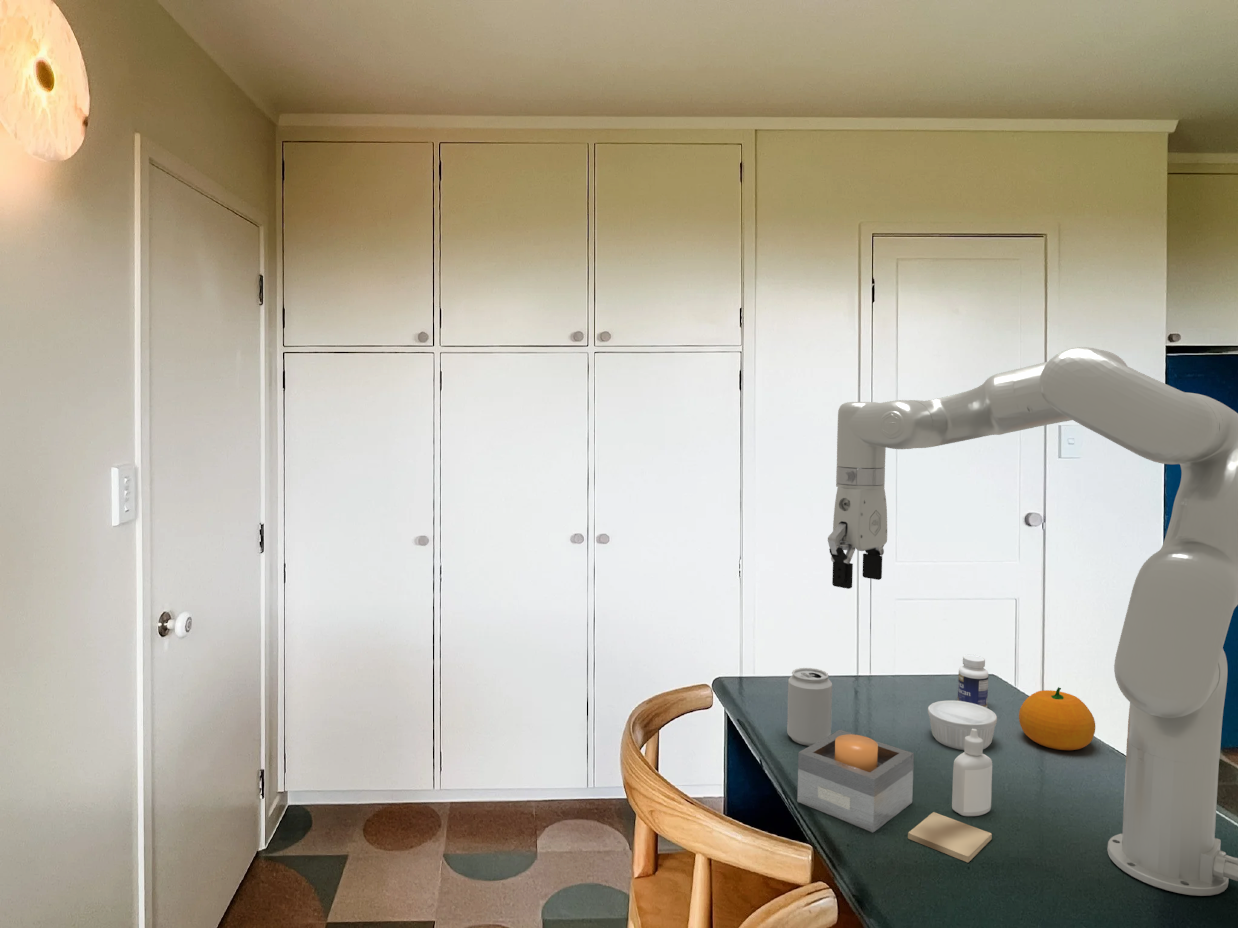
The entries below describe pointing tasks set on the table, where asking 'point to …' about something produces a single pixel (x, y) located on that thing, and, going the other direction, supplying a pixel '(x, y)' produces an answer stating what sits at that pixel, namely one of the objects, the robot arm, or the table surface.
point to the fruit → (1057, 720)
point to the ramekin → (961, 722)
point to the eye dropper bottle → (972, 779)
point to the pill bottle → (973, 681)
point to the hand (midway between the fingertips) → (857, 582)
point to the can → (809, 706)
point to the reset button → (857, 751)
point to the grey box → (855, 784)
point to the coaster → (950, 836)
